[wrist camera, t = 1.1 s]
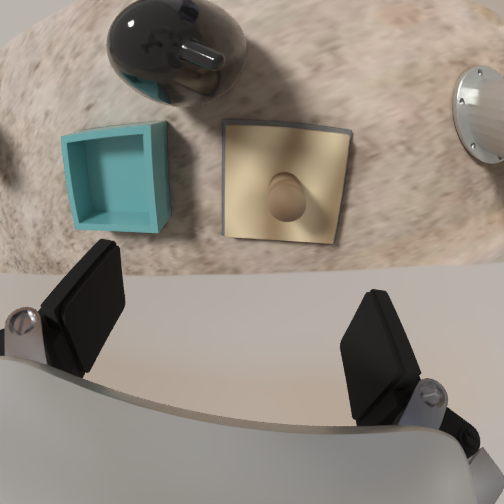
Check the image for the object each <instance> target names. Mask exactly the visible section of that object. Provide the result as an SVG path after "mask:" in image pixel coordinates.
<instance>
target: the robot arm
mask: <svg viewBox="0 0 504 504" xmlns="http://www.w3.org/2000/svg"><path fill="white" fill-rule="evenodd" d="M453 116H454V122H455V126H456V130H457V132H458V135H459V137H460V140H461V141H462V143H463V145H464V147H465V148H466V149H467V150H468V152H469V153H470V154H471V155H472V156H474V157H475V158H476V159H478V160H480V161H482V162H485V163H488V164H496V163H500V162H502V161H504V77H503V76H502V75H501V74H499V73H498V72H497V71H495V70H494V69H492V68H489V67H485V66H474V67H471V68H469V69H467V70H466V71H464V72H463V73H462V75H461V76H460V77H459V79H458V81H457V83H456V86H455V90H454V95H453ZM124 307H125V294H124V287H123V277H122V267H121V256H120V248H119V246H117V245H116V242H115V241H111V240H106V239H100V240H99V241H98V242H97V243H96V244H95V245H94V246H93V247H92V248H91V249H90V250H89V251H88V252H87V253H86V254H85V255H84V256H83V257H82V258H81V260H80V261H79V262H78V263H77V264H76V265H75V266H74V267H73V268H72V269H71V270H70V271H69V273H68V274H67V275H66V276H65V277H64V278H63V279H62V280H61V282H60V283H59V284H58V285H57V286H56V288H55V289H54V290H53V291H52V292H51V293H50V294H49V296H48V297H47V298H46V299H45V300H44V302H43V303H42V304H41V308H40V310H39V311H37V310H35V309H34V308H31V307H22V308H19V309H17V310H15V311H13V312H12V313H11V314H10V315H9V316H8V318H7V320H6V322H5V328H4V329H2V330H0V504H495V502H496V501H497V499H498V497H499V496H500V494H501V493H502V491H503V488H504V475H503V473H502V472H501V470H500V469H499V468H498V466H497V465H496V464H495V462H494V461H493V460H492V458H491V457H490V456H489V454H488V453H487V452H486V450H485V449H484V448H483V447H482V448H480V449H479V447H480V437H479V434H478V432H477V430H476V429H475V428H474V427H473V426H472V425H471V424H469V423H468V422H467V421H465V420H464V419H463V418H461V417H460V416H458V415H457V414H456V413H454V412H453V411H451V410H450V409H449V408H448V407H447V404H448V396H447V393H446V390H445V389H444V388H443V386H442V385H441V384H440V383H439V382H437V381H435V380H433V379H429V378H426V379H422V380H421V379H420V376H419V375H420V374H421V371H420V368H419V366H418V363H417V360H416V358H415V355H414V353H413V350H412V348H411V345H410V343H409V340H408V338H407V336H406V333H405V331H404V329H403V326H402V324H401V322H400V319H399V317H398V315H397V313H396V310H395V308H394V306H393V304H392V302H391V299H390V297H389V295H388V293H387V292H386V291H382V290H375V289H372V290H371V291H370V292H367V293H366V294H365V295H364V298H363V300H362V302H361V304H360V306H359V308H358V309H357V311H356V313H355V315H354V318H353V320H352V321H351V323H350V325H349V327H348V329H347V330H346V332H345V334H344V336H343V338H342V340H341V343H340V350H341V356H342V361H343V366H344V372H345V376H346V382H347V388H348V394H349V400H350V406H351V412H352V417H353V419H355V420H356V424H357V426H303V425H288V424H276V423H266V422H257V421H248V420H241V419H234V418H228V417H222V416H216V415H210V414H205V413H200V412H195V411H190V410H186V409H181V408H177V407H173V406H169V405H165V404H160V403H157V402H153V401H149V400H146V399H142V398H139V397H135V396H132V395H129V394H126V393H122V392H119V391H116V390H113V389H110V388H107V387H104V386H102V385H99V384H96V383H93V382H90V381H88V380H85V379H82V378H83V376H84V374H85V372H86V373H88V372H89V371H90V370H91V368H92V366H93V364H94V362H95V360H96V358H97V356H98V355H99V353H100V351H101V349H102V347H103V345H104V343H105V341H106V340H107V338H108V336H109V334H110V332H111V330H112V329H113V327H114V325H115V323H116V322H117V320H118V318H119V316H120V315H121V313H122V311H123V309H124Z"/></svg>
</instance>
